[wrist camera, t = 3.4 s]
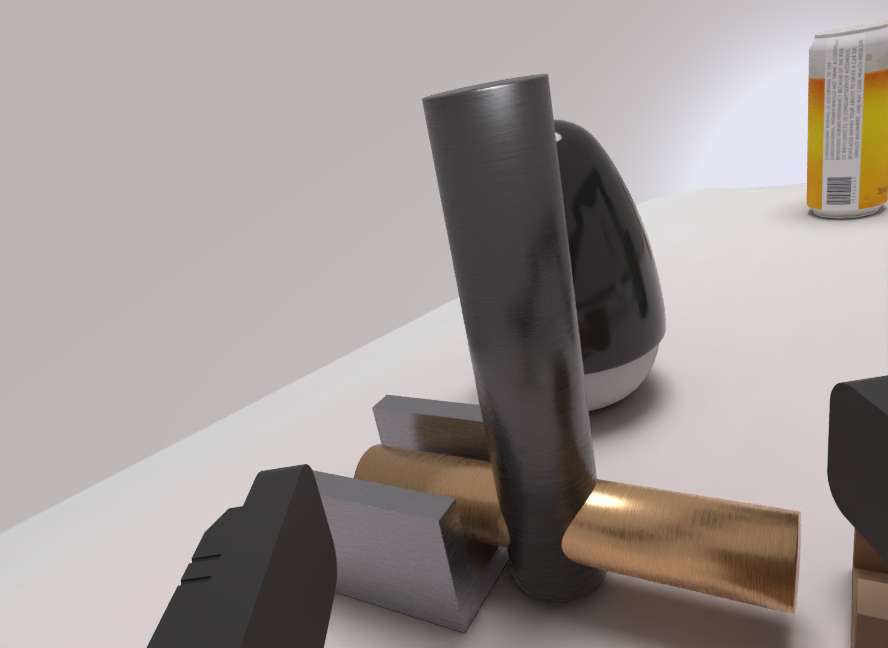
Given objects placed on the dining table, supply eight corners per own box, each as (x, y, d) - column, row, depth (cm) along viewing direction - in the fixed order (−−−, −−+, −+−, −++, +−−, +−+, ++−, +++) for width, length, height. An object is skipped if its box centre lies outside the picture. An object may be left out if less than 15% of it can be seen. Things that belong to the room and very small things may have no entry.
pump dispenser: (483, 365, 44) (440, 129, 38) (644, 340, 43) (624, 94, 37) (490, 451, 34) (434, 154, 29) (695, 421, 33) (679, 108, 28)
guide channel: (408, 482, 33) (386, 394, 31) (539, 508, 30) (523, 410, 28) (316, 586, 28) (283, 486, 26) (464, 633, 24) (438, 520, 22)
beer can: (887, 199, 60) (898, 18, 54) (886, 219, 55) (898, 23, 50) (810, 202, 63) (813, 32, 58) (803, 221, 58) (805, 38, 53)
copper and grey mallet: (408, 499, 31) (312, 112, 24) (800, 581, 23) (809, 28, 16) (363, 552, 28) (241, 130, 22) (791, 667, 20) (797, 39, 13)
